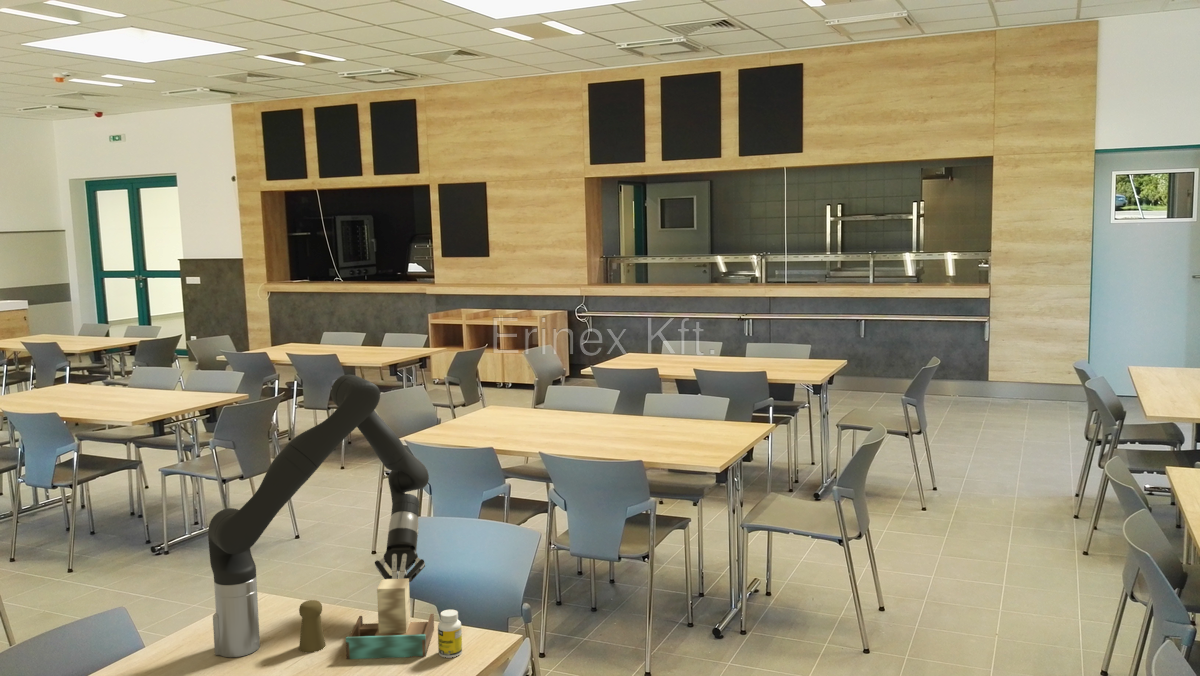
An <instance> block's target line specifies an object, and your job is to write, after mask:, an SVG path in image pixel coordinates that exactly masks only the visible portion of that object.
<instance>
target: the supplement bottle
mask: <svg viewBox="0 0 1200 676" xmlns="http://www.w3.org/2000/svg"><path fill="white" fill-rule="evenodd" d="M462 630H463V628H462V622H461V621H460V620H459V611H458V610H455V609H445V610H442V611H441V612H440V621H439V622H438V625H437V643H438V644H437V646H438V647H437V648H438V655H439V656H440V657H442V658H445V657H446V658H447V659H451V658H452V657H453V658H456V656H457V657H459V656H460V655H462V654H463V653H462V652H463V638H462V637H463V636H462V634H463V633H462V632H463V631H462ZM458 655H459V656H458ZM446 658H445V659H446Z"/></svg>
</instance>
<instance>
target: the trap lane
mask: <svg viewBox="0 0 1200 676" xmlns="http://www.w3.org/2000/svg"><path fill="white" fill-rule="evenodd" d="M434 617H435V615H434V613H430V614H429V619H428V621H413V622H411V621H410V624H409V627H408V630H407V632H406V633H384V634H379V625H378V622H377V623H375V622H373V623H370V622H369V623H364V621H363V615H359V616H358V617H357V620H356V622H355V624H354V626H353V628H352V629H351V632H350V634H349V635H348V636H346V637H345V653H346V655H345V656H346V660H357V659H358V660H359V659H360V660H361V659H362V660H363V659H388V658H394V659H395V658H413V657H412V656H425V657H426V656H427V653H428V650H429V648H430V644H431V641H432V638H433V635H434V631H435V618H434ZM410 656H411V657H410Z"/></svg>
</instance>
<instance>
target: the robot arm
mask: <svg viewBox="0 0 1200 676" xmlns="http://www.w3.org/2000/svg"><path fill="white" fill-rule="evenodd" d="M330 393H331V399H332V402H333V404H335V405H336V407H337V408H336V409H335V410H334V411H333V412H332V413H331V414H330V415H329V416H328V417H327V418H326V419H324V420H323V421H322V422H320V423H319V424H316V425H314V426H313V427H310V428H309V429H307V430H305V431H303V432H302V433H299V434H298V435H296V436H295V437H293V438H292V439H291V440H290V441H289V442H288V443H287V444H286V445H285V447H283V449H281V451H280V452H279V453H278V454H277V455H276V456H275V457H274V458H273V460H272V462H271V463H270V465H269V467H268V468H267V470H266V473H265V475H264V476H263V479H262V481H261V482H260V483H261V484H260V485H259V487H258V488H257V490H256V491H255V493H254V494H253V495H252V496H251V498H249V500H247V502H246V503H244V504H243V506H242V507H241V508H240V509H237V508H232V507H228V508H224V509H221V510H219V511H218V512H216V513H215V514H214V515H213V517H212V518H211V519H210V521H209V523H208V524H209V525H208V530H207V538H208V549H209V550H208V552H209V553H208V554H209V562H210V567H211V571H212V574H213V585H214V599H215V600H214V601H215V603H214V604H215V612H214V614H213V615H212V628H213V629H212V630H213V643H214V645H213V646H214V656H221V657H226V658H239V657H244V656H247V655H250V654H253V653H254V652H257V651H258V650H259V649H260V647H261V644H260V642H261V641H260V638H261V637H260V636H261V635H260V623H259V622H260V621H259V620H260V619H259V618H260V617H259V602H258V582H257V565H256V563H255V561H254V558H253V555H252V551H251V548H252V547H253V546H254V545H255V544H256V543H257V542H258V540H259V538H260V537H261V536H262V534H263V533H264V532H265V531H266V529H267V527H269V525H270V524H271V522H272V521H273V519H274V518H275V517H276V516H277V514H278V513H279V512H280V511H281V510H282V508H284V506H285V505H286V504H287V502H289V501H290V500H291V499H292V497H293V496H294V495H295V494H296V493H297V492H298V491H299V490H300V489H301V487H302V486H304V484H305V483H306V482H307V481H308V480H309V479H310V478H311V477H312V475H314V473H315V472H316V471H317V470H318V468H320V467H321V465H322V464H323V463H324V462H325V460H327V458H328V457H329V456H330V455H331V454H332V453H333V452H334V450H336V449H337V448H338V446H339V445H340V444H341V443H342V442H343V441H344V440H345V439H346V438H347V437H348V435H350V434H351V433H352V432H353V431H354V430H355V429H358V430H359V431H360V433H361V434H362V436H363V437H364V438H365V440H366V441H367V442H368V444H369V445H370V446H371V449H372V450H373V451H374V453H375V455H376V456H377V458H378V459H379V460H380V462H381V464H382V465H383V466H384V467H385V468H386V470H389V471H390V473H389V474H388V478H387V480H388V481H387V482H388V486H389V491H390V495H391V514H390V515H391V516H390V521H389V524H388V530H387V531H388V533H387V541H386V549H385V550H386V551H385V553H383V558H381V559H379V560H377V559H376V560H375V561H374V566H375V568H376V570H377V571H378V572H379V573H380V575H381V576H382V578H383V579H407V578H409V583H411V582H412V581H413V580H414V579H415V578H416V577H417V576H418V575H419V574H420V572H422V571H423V569H425V567H426V563H425V560H424V558H423V559H421V558H420V557H419V556H418V553H417V549H418V536H419V513H420V499H419V498H418V497H417V496H416V495H414V494H410V493H407V492H413V491H419V490H421V489H424V488H425V487H426V486H427V485H428V483H429V480H430V477H429V472H428V469H427V468H426V466H425V464H424V463H422V462H421V460H419V459H418V458H417V457H416V456H415V455H413V454H412V453H411V452H409V451H408V450H407V449H406V447H405V445H404V444H403V442H402V440H401V439H400V438H399V437H398V435H397V433H396V432H395V431H394V430H393V429H392V428H391V427H390V426H389V425H388V424H387V423H386V421H384V420H383V419H382V417H381V416H380V415H379V414H378V413H377V411H376V408H377V406H378V405H379V402H380V400H381V399H380V398H381V392H380V388H379V387H378V385H377V384H375V383H373V382H371V381H370V380H367V379H366V378H362V377H361V376H358V375H355V374H344V375H341V376H339V377H338V378H337V379H335V381H334V382H333V384H332V386H331V391H330ZM386 565H387V566H388V567H389V569H390V570H391V575H390V574H389V572H388V570H386ZM413 565H414V566H413Z"/></svg>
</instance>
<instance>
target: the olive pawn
mask: <svg viewBox="0 0 1200 676" xmlns="http://www.w3.org/2000/svg"><path fill="white" fill-rule="evenodd" d="M298 611H299V616H301V626H300V636H299V647H298V650H299V651H300V652H301V651H302V653H305V652H311V653H315V652H314V651H317V652H320V651H322V650H323V648H324V647H325V646H327V644H326V639H325V635H324V629H323V624H322V623H323V622H322V618H321V614H322V612H323V605H322V603H321V601H319V600H317V599H316V600H315V599H311V600H310V599H309V600H306V601H304V602H302V603H301V604H300V605H299V608H298ZM325 648H326V647H325ZM325 648H324V649H325ZM321 649H322V650H321ZM319 650H320V651H319Z"/></svg>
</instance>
